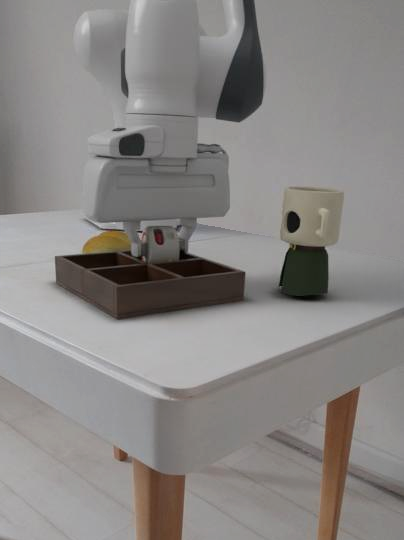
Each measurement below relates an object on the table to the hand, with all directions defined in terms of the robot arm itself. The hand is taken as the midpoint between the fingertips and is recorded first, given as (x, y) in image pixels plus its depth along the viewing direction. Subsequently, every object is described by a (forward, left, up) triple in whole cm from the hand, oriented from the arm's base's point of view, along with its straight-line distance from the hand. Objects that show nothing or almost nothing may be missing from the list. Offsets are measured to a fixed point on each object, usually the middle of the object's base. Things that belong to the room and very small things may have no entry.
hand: (159, 254), depth 74 cm
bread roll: (-16, +1, -4) cm, 16 cm away
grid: (+4, -4, -4) cm, 7 cm away
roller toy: (0, 0, -2) cm, 2 cm away
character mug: (+14, +13, -4) cm, 19 cm away
